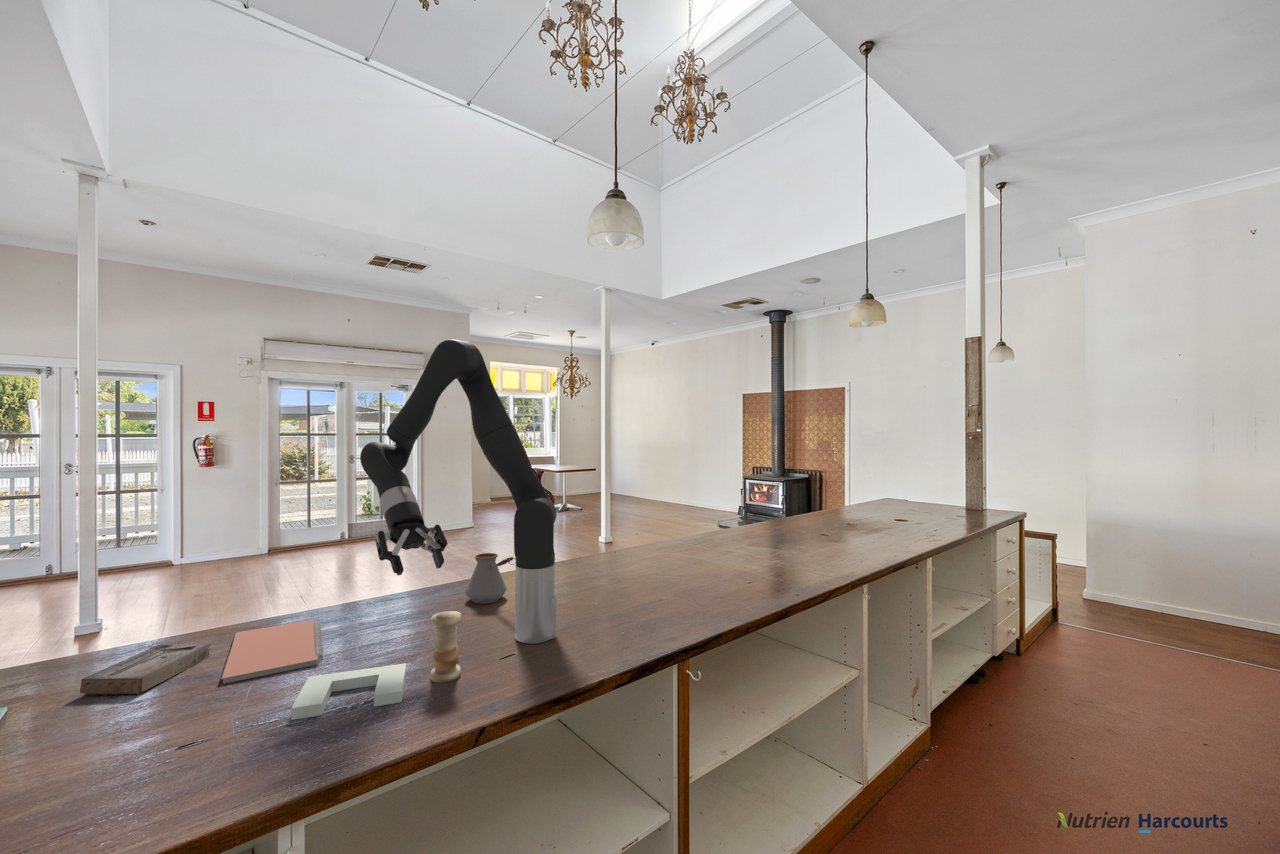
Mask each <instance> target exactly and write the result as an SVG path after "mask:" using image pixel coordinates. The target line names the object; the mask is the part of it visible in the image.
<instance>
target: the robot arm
mask: <svg viewBox="0 0 1280 854" xmlns="http://www.w3.org/2000/svg"><path fill="white" fill-rule="evenodd" d="M455 380H457V382H459V384H460V386H461V388H462V390H463V392H464V393H465V395H466V397H467V399H468V402H469V407H470V413H471V414H470V415H471V416H470V417H471V423H472V430H473V433H474V436H475V438H476V441H477V442H478V443H477V444H478V445H479V446H480V447H479V448H480V450H481V451H482V453H483V455H484V457H485V458H486V460H487V461H488V463H489V464H490V466H491V467H492V468H493V470H494V471H495V472H496V473H497V474H498V476H499V477H500V478H501V479H502V481H504V483H505V485H506V486H507V488H508V490H509V492H510V494H511V496H512V498H513V501H514V504H515V506H516V510H515V513H514V516H513V552H514V556H515V557H514V558H515V559H516V560H515V600H514V603H515V604H514V605H515V607H514V608H515V610H514V612H515V613H514V616H515V617H514V618H515V619H514V621H515V623H514V625H515V626H514V634H515V635H514V639H515V640H516V641H517V642H520V643H522V644H541V643H545V642H548V641H550V640H552V639H556V638H557V607H558V606H557V602H558V601H557V597H556V595H555V593H556V591H555V589H556V588H555V586H556V583H555V578H556V577H555V576H556V573H555V572H556V570H555V569H556V568H555V567H556V564H555V563H556V553H555V547H554V546H555V545H554V544H555V543H554V540H555V537H554V536H555V534H554V531H555V530H554V528H555V526H554V525H555V522H556V520H557V511H556V507H555V505H554V502H553V501H552V499H551V498H550V497H549V495H548V494H547V492H546V490H545V488H544V487H543V486H542V484H541V482H540V481H539V479H538V477H537V475H536V474H535V471H534V469H533V467H532V464H531V461H530V459H529V456H528V453H527V452H526V449H525V447H524V445H523V443H522V440H521V437H520V436H519V434H518V431H517V430H516V429H517V428H516V427H515V426H514V424H513V421H512V419H511V417H510V416H509V413H508V412H507V410H506V408H505V406H504V404H503V402H502V400H501V398H500V395H498V392H497V390H496V388H495V386H494V383H493V382H492V379H491V376H490V373H489V371H488V368H487V365H486V362H485V360H484V357H483V355H482V352H481V351H480V349H479V348H478V347H477V345H475V344H474V343H471V342H470V341H466V340H460V339H445V340H442V341H441V342H439V343H438V345H436V347H435V348H434V350H433V352H432V353H431V355H430V358H429V359H428V362H427V364H426V366H425V367H424V370H423V372H422V373H421V375H420V377H419V380H418V382H417V384H415V385H416V386H415V388H414V389H413V391H412V393H411V394H410V395H409V397H408V399H407V400H406V402H405V403H404V405H403V406H402V408H401V409H400V411H399V412H398V413H397V414H396V416H395V417H394V419H393V420H392V422H391V423H389V426H388V427H387V429H386V434H387V435H386V436H387V438H389V440H391V441H392V442H393V443H395V444H394V445H393V444H389V443H388V444H387V443H384V442H380V441H379V442H378V441H372V442H371V441H370V442H368V443H367V444H365V445H364V446H363V448H362V449H361V451H360V456H359V457H360V458H359V460H360V464H361V467H362V469H363V471H364V473H365V474H366V475H367V477H368V478H369V480H370V481H371V483H372V484H373V485H374V486H375V487H376V491H377V492H378V493H377V494H378V496H379V499H380V504H381V505H380V506H381V512H382V515H383V517H384V520H385V523H386V526H387V529H388V532H385V531H383V530H379V531H378V533H377V535H376V536H375V546H376V550H377V555H378V559H379V560H380V561H385V560H386V561H389V562H390V565H391V568H392V572H393V573H394V574H396V576H402V574H403V572H404V571H405V570H404V569H405V568H404V566H403V563H402V559H401V557H400V555H399V553H400V552H401V549H403V550H404V551H408V550H411V549H422V550H424V551H428V552H429V553H430V554H432V555H431V556H432V559H433V562H434V566H435V567H436V569H441V568H442V566H443V565H444V563H445V558H444V555H443V553H442V552H444V551H445V549H446V547H447V545H448V541H447V539H446V536H445V534H444V532H443V530H442V527H441V525H440V524H435V525H434V527H427V526H426V524H425V521H424V517H423V513H422V512H421V509H420V506H419V503H418V501H417V497H416V495H415V493H414V491H413V490H412V487H411V484H410V482H409V478H408V476H407V475H406V474H405V473H404V471H403V470H404V469H405V467H406V466H407V464H408V462H409V459H410V456H411V453H412V451H413V448H414V445H415V443H416V441H417V440H418V438H420V436H421V434H422V433H423V431H424V430H425V429H426V427H427V426H428V425H429V423H430V422H431V419H432V417H433V414H434V412H435V408H436V406H437V403H438V401H439V399H440V397H441V395H442V394H443V392H444V391H445V390H446V389H447V388H448V387H449V385H450V384H452V383H453V382H454V381H455ZM388 540H389V541H390V542H392V543H394V544H395V546H394V548H393V549H392V551H391V550H389V549H388V545H387V542H388ZM425 542H426V543H425Z"/></svg>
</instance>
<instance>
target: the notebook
mask: <svg viewBox="0 0 1280 854" xmlns="http://www.w3.org/2000/svg"><path fill="white" fill-rule="evenodd" d="M322 636H323V635H322V626H321V622H320V621H316V619H310V620H305V621H300V622H299V621H298V622H291V623H286V624H281V625H280V624H279V625H273V626H267V627H261V628H254V629H249V630H243V631H237V632H236V633H235V636H234V639H233V642H232V645H231V649H230V652H229V654H228V658H227V661H226V664H225V667H224V670H223V673H222V676H221V680H222V683H223V684H229V683H234V682H239V681H242V680H243V681H244V680H248V679H254V678H258V677H262V676H269V675H272V674H277V673H281V672H287V671H292V670H296V669H297V670H298V669H302V668H303V669H304V668H307V667H311V666H317V665H319V655H321V660H324V656H325V655H324V647H323V640H322V639H323V638H322Z"/></svg>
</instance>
